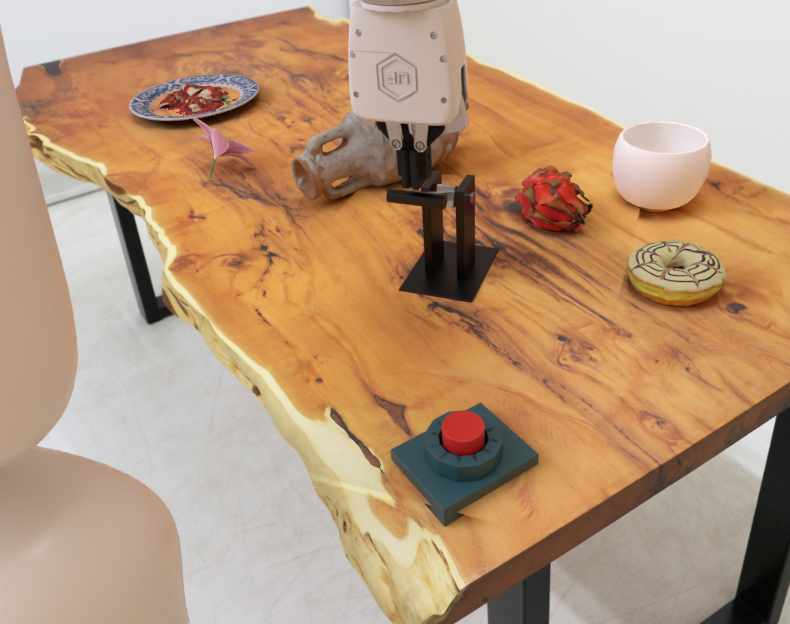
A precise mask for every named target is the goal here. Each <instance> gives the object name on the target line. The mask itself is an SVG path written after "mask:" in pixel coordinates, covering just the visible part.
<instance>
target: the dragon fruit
mask: <svg viewBox="0 0 790 624" xmlns="http://www.w3.org/2000/svg"><path fill="white" fill-rule="evenodd" d="M572 177H573V175H572V173H571V172H570V171H567V170H566V171H565V170H564V171H561V172H560V171H559V169H558V167H555V166H553V165H548V166H546V167H545V166H544V167H543V168H541V167H537V168H536V169H535V170H534V171H533V172H532V174H531V175H528V176H527V177H525V178H524V179H523V180H522V181H521V186H523V188H522V189H519V190H518V191H517V194H515V196H514V202H515V203H517V204H522V209H521V218H522V220H523V223H524V224H525V225H529V226H530V225H532V224H533V225H535V226H536V227H538V228H539V229H540V230H548V231H554V232H555V231H556V232H560V231H561V230H565V231H567V232H572V231H573V232H574V233H578V231H579V230H580V229H581V228H582V227H583V226H585V225H586V222H585V219H586V218H588V215H589V214H591V212H592V209H594V204H593V203H591V200H590V199H589V198H588V197H586V196H585V191H584V190H583V189H581V188H580V185H579V184H577V183H575V182H574V181H573V182H572V181H571V178H572ZM578 196H580V197H581V198H582V199H583V200H585V201H586V202H588V203H586V202H584V201H583V200H582V199H581V198H579V197H578ZM592 217H593V218H594V216H592Z"/></svg>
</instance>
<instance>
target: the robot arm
mask: <svg viewBox="0 0 790 624" xmlns="http://www.w3.org/2000/svg"><path fill="white" fill-rule="evenodd" d="M461 16H462V15H461V12H460V7H459V3H458V0H355V1H352V2H351V4H350V11H349V21H348V23H349V24H348V42H347V43H348V44H347V45H348V46H347V48H348V49H347V61H348V62H347V64H348V66H347V67H348V88H349V90H348V91H349V99H350V106H351V110H353V112H354V113H355V114H356V115H357V119H358V121H359V122H360V123H362V124H365V125H368V126H371V127H374V128H375V127H377V128H378V129H379V130H380V131H381V132H382V133H383V134H384V135H385V136H386V137H387V138H388V139H389V140H390V144H391V147H392V148H393V149H395V150H396V155H397V169H398V175H399V176H402V181H401V187H402V190H409V189H412V191H420V190H421V187H422V185H423V184H424V183H425V181H426V180H427V179H429V178H430V176H431V174H432V172H433V167H432V157H431V144H432V143H433V142H434V141H435V140H436V139H437V138H438V137H439V136H440V135H441V134H445V133H447V134H448V133H454V132H459V133H460V132H463V131H465V129H466V128H467V127H468V125H469V124H470V117H469V115H468V110H467V111H466V107H465V105H466V103H467V102H468V100H469V99H468V97H469V73H468V61H467V59H468V58H467V51H466V42H465V35H464V28H463V22H462V17H461ZM2 30H3V29H2V26H1V24H0V624H192V623H191V620H190V617H189V613H188V607H187V602H186V601H187V599H186V594H185V593H186V592H185V582H184V581H185V579H184V567H183V556H182V555H183V553H182V547H181V540H180V534H179V531H178V526H177V523H176V520H175V519H174V517H173V514H172V513H171V511H170V509H169V507H168V506H167V504H166V502H164V501H163V499H162V498H161V497H160V496H159V495H158V494H157V493H156V492H155V491H154V490H153V489H151V488H150V487H149V486H148V485H146V484H145V483H144V482H143V481H141V480H139V479H138V478H136V477H135V476H132V475H130V474H129V473H127V472H124V471H122V470H120V469H118V468H115V467H114V466H111V465H109V464H107V463H104V462H101V461H97V460H94V459H92V458H88V457H85V456H83V455H78V454H75V453H71V452H67V451H63V450H60V449H54V448H50V447H44V446H40V445H39V444H40V443H41V442H42V441H43V440H44V439H45V438H46V437H47V436H48V435H49V433H50V432H51V431H52V430H53V429H54V427H55V426H56V425H57V424H58V422H60V420H61V419H62V416H63V415H64V413H65V412H66V410H67V408H68V405H69V403H70V401H71V397H72V395H73V392H74V389H75V382H76V378H77V371H78V364H79V363H78V361H79V350H78V337H77V328H76V322H75V321H76V320H75V313H74V308H73V304H72V299H71V294H70V293H71V292H70V289H69V285H68V280H67V278H66V277H67V276H66V273H65V269H64V265H63V261H62V257H61V253H60V250H59V246H58V243H57V238H56V235H55V232H54V228H53V224H52V220H51V216H50V213H49V208H48V206H47V201H46V198H45V195H44V191H43V186H42V184H41V180H40V176H39V172H38V168H37V165H36V162H35V159H34V158H35V157H34V153H33V149H32V146H31V143H30V138H29V135H28V132H27V129H26V124H25V121H24V116H23V113H22V110H21V105H20V102H19V99H18V95H17V92H16V87H15V83H14V79H13V76H12V72H11V68H10V65H9V59H8V55H7V49H6V45H5V40H4V35H3V31H2ZM411 124H416V128H415V138H413V136H412V129H411Z"/></svg>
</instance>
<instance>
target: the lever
mask: <svg viewBox="0 0 790 624" xmlns="http://www.w3.org/2000/svg"><path fill="white" fill-rule="evenodd" d="M459 185H460V184H459ZM459 185H457V184H449V183H442V184H437V188H436V191H434V192H421V191H420V190H409V189H403V188H402V189H401V188H392V187H389V188H387V191H386V194H385V195H386V196H385V199H386V202H387V203H390V204H398V205H405V206H406V205H407V206H414V207H421V208H422V207H430V208H438V209H443V210H445V209H446V208H452V209H453V208H454V209H455V208H456V207H455V191H456V189H457V188H458V187H459Z"/></svg>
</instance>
